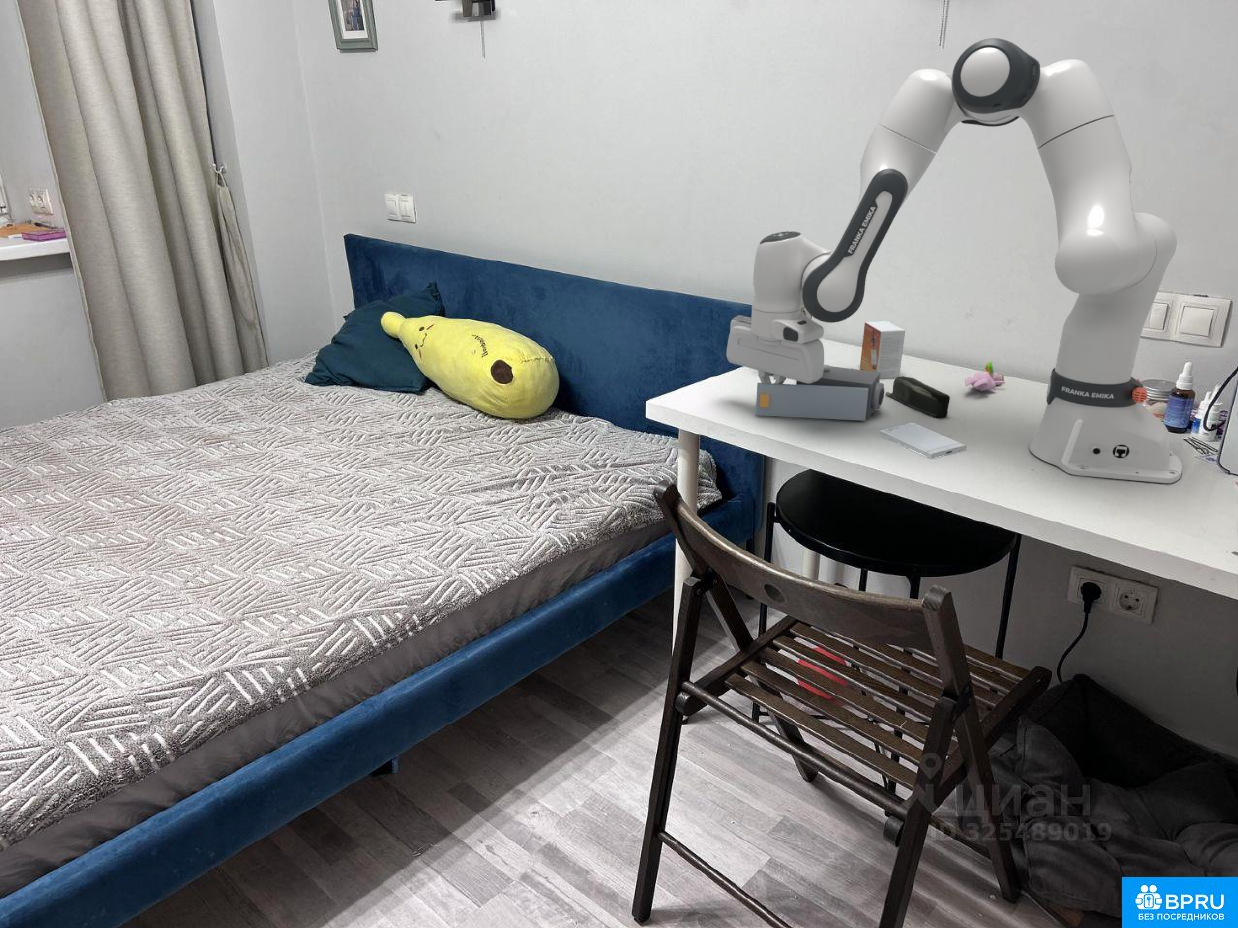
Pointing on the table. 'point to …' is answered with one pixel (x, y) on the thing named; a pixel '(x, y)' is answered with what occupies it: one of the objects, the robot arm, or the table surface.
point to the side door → (811, 401)
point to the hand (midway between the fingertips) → (771, 394)
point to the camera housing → (854, 384)
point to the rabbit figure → (985, 379)
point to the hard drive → (922, 440)
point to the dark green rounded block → (920, 396)
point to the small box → (882, 348)
